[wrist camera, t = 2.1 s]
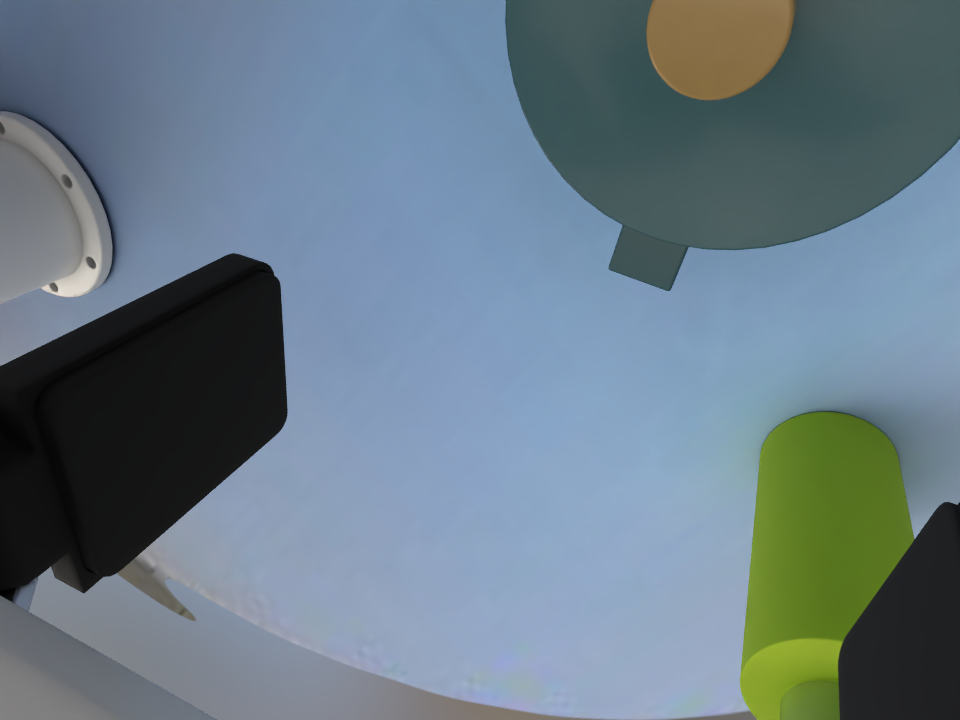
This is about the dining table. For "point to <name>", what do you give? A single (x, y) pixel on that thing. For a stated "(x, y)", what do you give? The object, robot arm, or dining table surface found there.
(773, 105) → the pot lid
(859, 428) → the soap dispenser
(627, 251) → the teal round container
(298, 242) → the dining table surface
